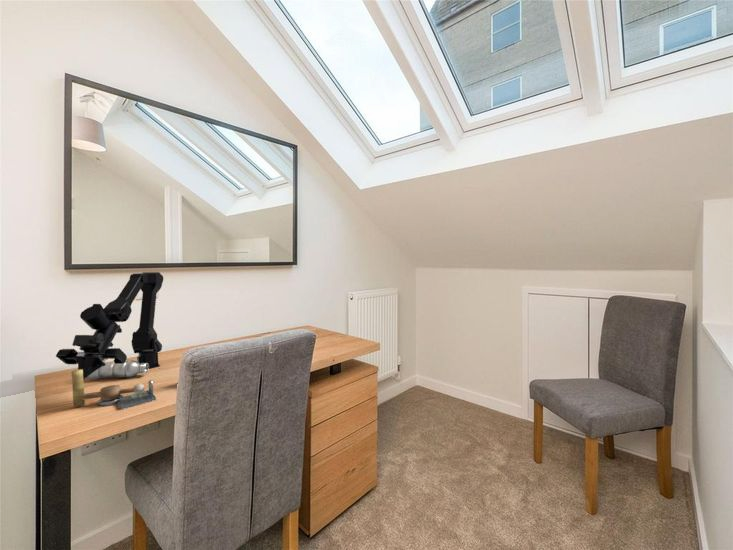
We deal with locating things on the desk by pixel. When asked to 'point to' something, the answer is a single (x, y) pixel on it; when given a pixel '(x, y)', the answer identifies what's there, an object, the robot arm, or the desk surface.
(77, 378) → the tan piece
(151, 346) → the robot arm
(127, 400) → the level stand
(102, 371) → the plastic bottle
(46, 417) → the desk surface
